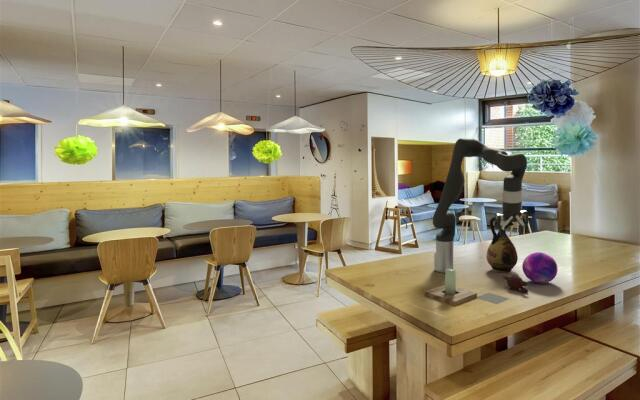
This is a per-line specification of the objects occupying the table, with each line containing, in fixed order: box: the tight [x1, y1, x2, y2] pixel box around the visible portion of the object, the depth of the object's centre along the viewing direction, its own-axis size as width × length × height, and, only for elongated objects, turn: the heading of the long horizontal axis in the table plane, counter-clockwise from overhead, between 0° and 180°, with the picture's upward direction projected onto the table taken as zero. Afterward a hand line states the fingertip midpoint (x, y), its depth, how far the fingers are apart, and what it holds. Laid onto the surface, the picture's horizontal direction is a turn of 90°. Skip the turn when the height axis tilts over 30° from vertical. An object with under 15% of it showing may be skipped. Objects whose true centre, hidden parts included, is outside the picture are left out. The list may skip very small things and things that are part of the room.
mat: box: [476, 292, 510, 305], centre depth 167 cm, size 10×10×1 cm
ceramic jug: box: [485, 216, 519, 274], centre depth 208 cm, size 17×15×30 cm
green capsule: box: [444, 268, 457, 295], centre depth 171 cm, size 4×4×12 cm
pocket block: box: [424, 284, 478, 306], centre depth 171 cm, size 16×16×2 cm
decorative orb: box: [521, 251, 559, 284], centre depth 187 cm, size 15×15×15 cm
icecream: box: [502, 274, 529, 294], centre depth 179 cm, size 7×7×15 cm
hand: (511, 234), depth 169 cm, fingers open, 8 cm apart
